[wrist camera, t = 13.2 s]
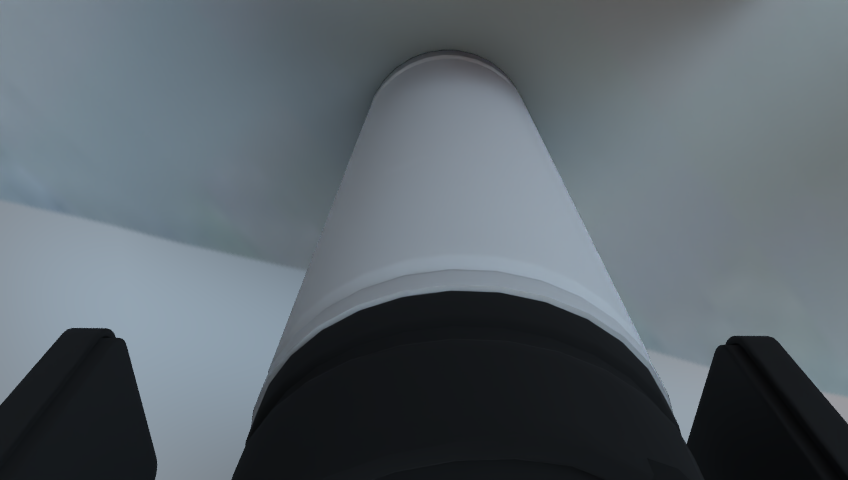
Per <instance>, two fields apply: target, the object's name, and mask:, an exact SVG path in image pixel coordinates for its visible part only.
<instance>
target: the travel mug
mask: <svg viewBox="0 0 848 480" xmlns="http://www.w3.org/2000/svg"><path fill="white" fill-rule="evenodd" d="M245 445H246V446H245V449H244V451H243V453H242V456H241V458H240V460H239V463H238V465H237V467H236V470H235V472H234V474H233V477H232V480H705V479H704V477H703V475H702V473H701V471H700V469H699V467H698V465H697V463H696V461H695V458H694V457H693V455H692V453H691V451H690V450H689V448H688V446H687V444H686V443H685V441H684V440H683V438H682V436H681V433H680V429H679V425H678V424H677V422H676V419H675V417H674V415H673V411H672V407H671V403H670V399H669V395H668V393H667V391H666V389H665V387H664V385H663V383H662V381H661V379H660V377H659V375H658V374H657V372H656V370H655V368H654V367H653V365H652V363H651V361H650V357H649V355H648V353H647V351H646V349H645V347H644V345H643V343H642V341H641V339H640V337H639V335H638V332H637V330H636V328H635V326H634V324H633V322H632V320H631V318H630V316H629V314H628V312H627V310H626V308H625V306H624V304H623V302H622V300H621V298H620V296H619V294H618V292H617V290H616V288H615V286H614V284H613V282H612V280H611V278H610V276H609V274H608V272H607V270H606V268H605V266H604V264H603V262H602V260H601V258H600V256H599V254H598V252H597V250H596V248H595V246H594V243H593V241H592V239H591V237H590V235H589V233H588V231H587V229H586V227H585V225H584V223H583V221H582V219H581V217H580V215H579V213H578V211H577V209H576V207H575V205H574V203H573V201H572V199H571V197H570V195H569V193H568V191H567V189H566V187H565V185H564V183H563V181H562V179H561V177H560V175H559V173H558V171H557V169H556V167H555V165H554V163H553V161H552V159H551V157H550V154H549V152H548V150H547V148H546V146H545V144H544V142H543V140H542V138H541V136H540V134H539V132H538V130H537V128H536V126H535V124H534V122H533V120H532V118H531V116H530V114H529V112H528V110H527V108H526V106H525V104H524V102H523V100H522V98H521V96H520V94H519V92H518V91H517V89H516V87H515V85H514V84H513V82H512V81H511V80H510V79H509V78H508V77H507V75H506V74H505V73H504V72H503V71H502V70H500V69H499V68H498V67H496V66H495V65H494V64H492V63H491V62H490V61H487V60H485V59H483V58H481V57H479V56H477V55H474V54H470V53H466V52H462V51H450V50H441V51H435V52H429V53H425V54H422V55H420V56H417V57H414V58H412V59H410V60H408V61H407V62H405V63H404V64H402V65H400V66H399V67H397V68H396V69H395V70H394V71H393V72H392V73H391V74H390V75H389V76H388V77H387V78H386V79H385V80H384V82H383V83H382V84H381V86H380V87H379V89H378V90H377V92H376V94H375V96H374V99H373V101H372V104H371V106H370V108H369V111H368V114H367V116H366V119H365V121H364V124H363V127H362V129H361V132H360V134H359V137H358V140H357V142H356V145H355V147H354V150H353V153H352V155H351V158H350V160H349V163H348V166H347V168H346V171H345V173H344V176H343V179H342V181H341V184H340V186H339V189H338V192H337V194H336V197H335V199H334V202H333V205H332V207H331V210H330V212H329V215H328V218H327V220H326V223H325V225H324V228H323V231H322V233H321V236H320V238H319V241H318V244H317V246H316V249H315V251H314V254H313V257H312V259H311V262H310V264H309V267H308V270H307V272H306V275H305V277H304V280H303V283H302V286H301V288H300V290H299V293H298V296H297V298H296V301H295V303H294V306H293V309H292V311H291V314H290V316H289V319H288V322H287V324H286V327H285V329H284V332H283V335H282V337H281V340H280V342H279V345H278V348H277V350H276V353H275V355H274V358H273V361H272V363H271V366H270V369H269V371H268V375H267V378H266V380H265V382H264V385H263V388H262V390H261V392H260V395H259V397H258V400H257V402H256V405H255V407H254V410H253V416H252V425H251V429H250V432H249V435H248V437H247V440H246V444H245Z"/></svg>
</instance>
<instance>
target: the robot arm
mask: <svg viewBox="0 0 848 480" xmlns="http://www.w3.org/2000/svg"><path fill="white" fill-rule="evenodd" d="M687 446H688V448H689V450H690V451H691V453H692V455H693V457H694V458H695V461H696V463H697V465H698V467H699V469H700V471H701V473H702V475H703V477H704V479H705V480H848V424H847V423H846V421H845V420H844V419H843V418H842V417H841V416H840V414H839V413H838V412H837V411H836V410H835V408H834V407H833V406H832V405H831V404H830V403H829V401H828V400H827V399H826V398H825V397H824V395H823V394H822V393H821V392H820V391H819V390H818V388H817V387H816V386H815V385H814V384H813V382H812V381H811V380H810V379H809V378H808V377H807V375H806V374H805V373H804V372H803V371H802V370H801V368H800V367H799V366H798V365H797V364H796V362H795V361H794V360H793V359H792V358H791V357H790V355H789V354H788V353H787V352H786V351H785V349H784V348H783V347H782V346H781V345H780V344H779V342H778V341H776V340H775V339H774V338H772V337H769V336H733V337H730V338H729V339H728V340H727V342H726V344H725V345H720V346H718V347H717V349H716V351H715V353H714V357H713V360H712V363H711V366H710V370H709V373H708V377H707V380H706V383H705V386H704V389H703V393H702V396H701V399H700V402H699V406H698V409H697V412H696V416H695V419H694V422H693V426H692V429H691V432H690V435H689V438H688V442H687ZM156 471H157V459H156V455H155V451H154V447H153V443H152V440H151V436H150V432H149V429H148V425H147V421H146V417H145V413H144V409H143V406H142V402H141V398H140V394H139V391H138V387H137V383H136V379H135V376H134V372H133V368H132V364H131V361H130V357H129V353H128V349H127V346H126V343H125V341H124V340H123V339H121V338H116V337H115V335H114V333H113V332H112V331H111V330H110V329H106V328H105V329H103V328H101V329H100V328H71V329H68V330H66V331H65V332H64V333H63V334H62V335H61V336H60V337H59V338H58V340H57V341H56V342H55V343H54V344H53V345H52V347H51V348H50V349H49V350H48V351H47V352H46V353H45V354H44V356H43V357H42V358H41V359H40V360H39V362H38V363H37V364H36V365H35V366H34V367H33V368H32V370H31V371H30V372H29V373H28V374H27V375H26V376H25V378H24V379H23V380H22V381H21V382H20V383H19V384H18V386H17V387H16V388H15V389H14V390H13V391H12V393H11V394H10V395H9V396H8V397H7V398H6V399H5V401H4V402H3V403H2V404H1V405H0V480H155V477H156Z"/></svg>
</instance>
